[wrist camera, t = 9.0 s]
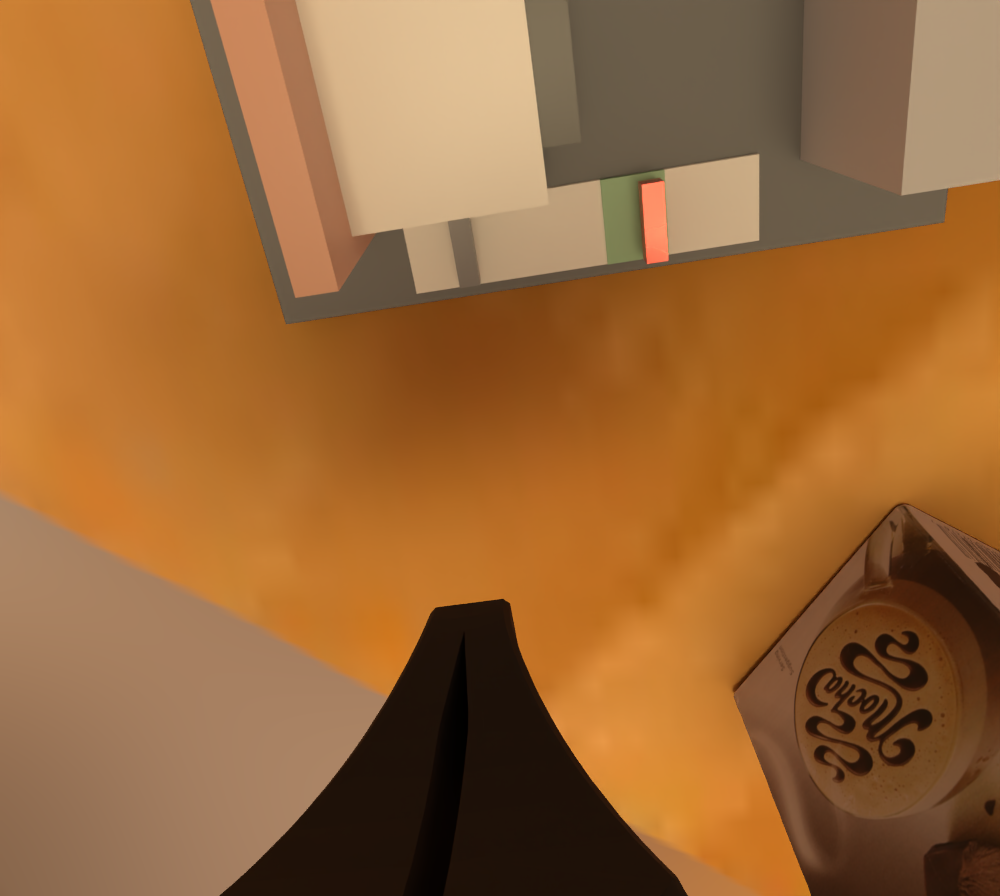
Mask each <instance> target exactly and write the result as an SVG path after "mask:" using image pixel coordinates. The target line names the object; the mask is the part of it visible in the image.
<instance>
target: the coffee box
mask: <svg viewBox="0 0 1000 896" xmlns="http://www.w3.org/2000/svg"><path fill="white" fill-rule="evenodd" d="M734 698H735V701H736V704H737V707H738V709H739V711H740V713H741V716H742V718H743V721H744V724H745V726H746V729H747V731H748V734H749V737H750V739H751V742H752V744H753V747H754V749H755V752H756V754H757V757H758V759H759V762H760V764H761V767H762V770H763V772H764V775H765V777H766V780H767V782H768V785H769V788H770V791H771V793H772V797H773V799H774V801H775V804H776V806H777V809H778V811H779V813H780V816H781V819H782V822H783V824H784V827H785V829H786V832H787V834H788V837H789V840H790V842H791V845H792V847H793V850H794V852H795V855H796V857H797V860H798V862H799V865H800V868H801V870H802V873H803V875H804V877H805V880H806V882H807V885H808V887H809V890H810V893H811V896H1000V552H999V551H997V550H995V549H993V548H992V547H990V546H988V545H986V544H984V543H982V542H980V541H978V540H976V539H974V538H972V537H970V536H968V535H967V534H965V533H963V532H961V531H959V530H957V529H955V528H953V527H951V526H949V525H947V524H945V523H943V522H941V521H939V520H937V519H935V518H933V517H931V516H929V515H928V514H926V513H924V512H922V511H920V510H918V509H916V508H914V507H912V506H910V505H907V504H904V505H900V506H897V507H896V508H895V509H894V510H893V511H892V512H891V513H890V514H889V515H888V517H887V518H886V519H885V520H884V521H883V522H882V523H881V525H880V526H879V527H878V528H877V529H876V530H875V532H874V533H873V534H872V535H871V536H870V537H869V538H868V540H867V541H866V542H865V543H864V544H863V545H862V546H861V548H860V549H859V550H858V551H857V552H856V553H855V554H854V556H853V557H852V558H851V559H850V560H849V561H848V562H847V564H846V565H845V566H844V567H843V568H842V569H841V571H840V572H839V573H838V574H837V575H836V576H835V577H834V579H833V580H832V581H831V582H830V583H829V584H828V586H827V587H826V588H825V589H824V590H823V591H822V592H821V594H820V595H819V596H818V597H817V598H816V599H815V600H814V602H813V603H812V604H811V605H810V606H809V607H808V608H807V610H806V611H805V612H804V613H803V614H802V615H801V617H800V618H799V619H798V620H797V621H796V622H795V624H794V625H793V626H792V627H791V628H790V629H789V630H788V632H787V633H786V634H785V635H784V636H783V637H782V639H781V640H780V641H779V642H778V643H777V644H776V646H775V647H774V648H773V649H772V650H771V652H770V653H769V654H768V655H767V656H766V657H765V658H764V659H763V661H762V662H761V663H760V664H759V665H758V666H757V667H756V669H755V670H754V671H753V672H752V673H751V674H750V675H749V677H748V678H747V679H746V680H745V681H744V682H743V683H742V685H741V686H740V687H739V688H738V689H737V690H736V692H735V693H734Z"/></svg>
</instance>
